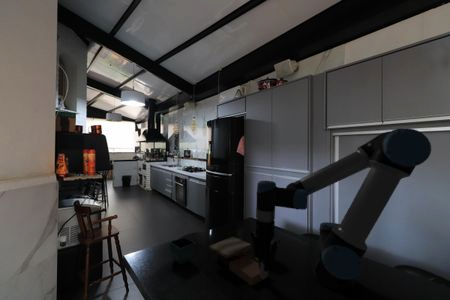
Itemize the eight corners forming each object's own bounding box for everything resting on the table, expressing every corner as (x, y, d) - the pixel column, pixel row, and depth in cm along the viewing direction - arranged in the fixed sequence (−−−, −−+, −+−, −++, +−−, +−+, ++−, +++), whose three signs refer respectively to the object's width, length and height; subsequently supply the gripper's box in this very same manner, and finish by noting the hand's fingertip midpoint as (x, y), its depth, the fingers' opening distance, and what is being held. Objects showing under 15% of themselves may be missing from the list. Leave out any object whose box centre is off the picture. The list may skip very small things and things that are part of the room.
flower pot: (195, 261, 99) (195, 242, 99) (179, 268, 93) (180, 248, 93) (184, 254, 105) (184, 236, 105) (168, 261, 99) (169, 242, 99)
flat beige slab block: (250, 261, 100) (251, 244, 100) (227, 275, 89) (227, 255, 89) (232, 252, 109) (232, 236, 109) (208, 263, 98) (209, 245, 97)
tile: (268, 277, 89) (268, 269, 89) (251, 286, 82) (251, 277, 82) (245, 262, 100) (245, 255, 100) (229, 269, 93) (229, 262, 93)
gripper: (284, 221, 83) (282, 280, 83) (257, 213, 92) (256, 267, 93) (274, 226, 78) (272, 289, 78) (246, 217, 87) (245, 273, 87)
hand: (263, 277), depth 85 cm, fingers closed
